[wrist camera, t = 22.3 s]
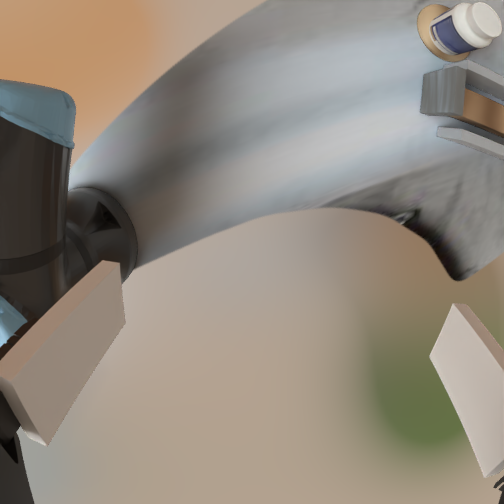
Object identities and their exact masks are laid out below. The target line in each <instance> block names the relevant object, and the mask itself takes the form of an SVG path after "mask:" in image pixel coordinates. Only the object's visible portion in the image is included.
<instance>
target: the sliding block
mask: <svg viewBox="0 0 504 504" xmlns="http://www.w3.org/2000/svg"><path fill="white" fill-rule="evenodd" d="M465 82H466V69H463V68H461V67H459V66H453V67H449V68H445V69H441V70H438V71H434V72H430V73H427V74H424V77H423V89H422V99H421V108H420V113H422V114H425V115H428V116H449V117H452V118H455V119H458V120H461V121H463V122H466V123H468V124H471V125H474V126H476V127H479V128H481V129H484V130H486V131H488V132H491V133H493V134H495V135H498V136H500V137H502V138H504V106H503V105H501V104H499V103H497V102H495V101H493V100H491V99H489V98H486V97H484V96H482V95H480V94H478V93H475V92H473V91H471V90H468V89H466V88H465Z"/></svg>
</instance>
